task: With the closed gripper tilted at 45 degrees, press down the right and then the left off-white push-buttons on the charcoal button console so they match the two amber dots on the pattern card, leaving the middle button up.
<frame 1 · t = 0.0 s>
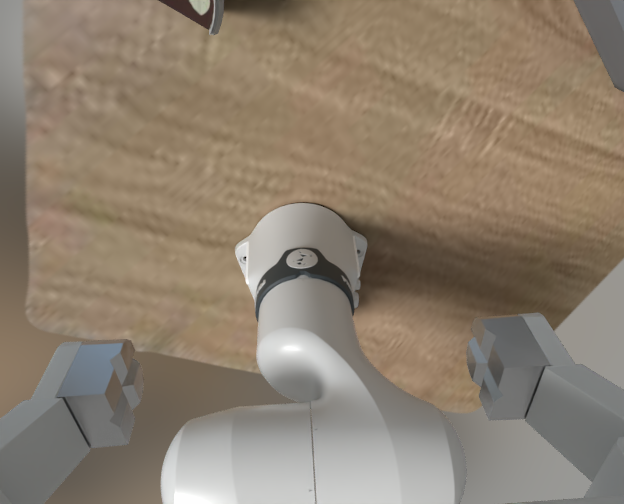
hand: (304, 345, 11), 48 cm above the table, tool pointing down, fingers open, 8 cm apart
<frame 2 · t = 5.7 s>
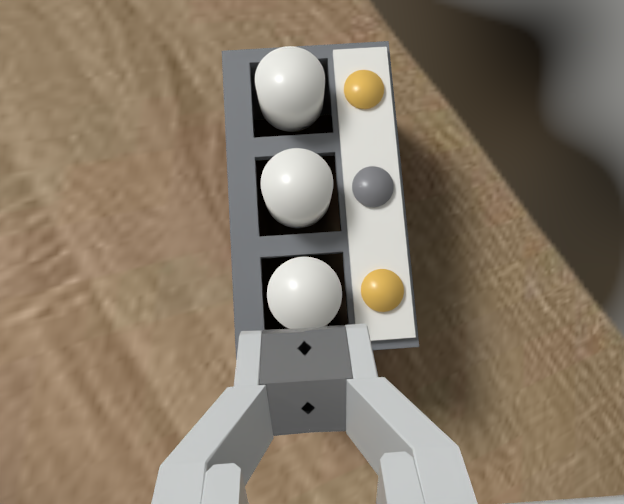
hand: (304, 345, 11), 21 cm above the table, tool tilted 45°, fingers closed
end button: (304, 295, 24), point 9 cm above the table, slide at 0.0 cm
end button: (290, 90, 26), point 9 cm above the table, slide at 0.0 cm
pattern card: (372, 187, 25), on the button console, point 8 cm above the table
button console: (313, 222, 34), on the table
middle button: (297, 189, 25), point 9 cm above the table, slide at 0.0 cm
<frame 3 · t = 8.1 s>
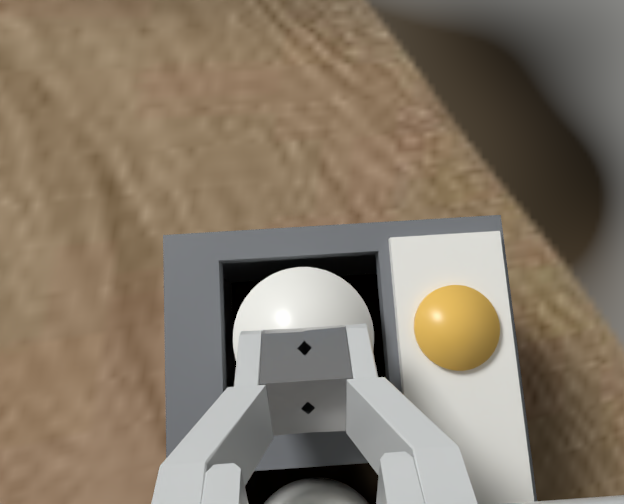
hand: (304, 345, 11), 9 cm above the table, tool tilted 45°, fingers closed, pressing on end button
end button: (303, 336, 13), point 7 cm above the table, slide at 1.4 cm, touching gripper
button console: (336, 465, 20), on the table
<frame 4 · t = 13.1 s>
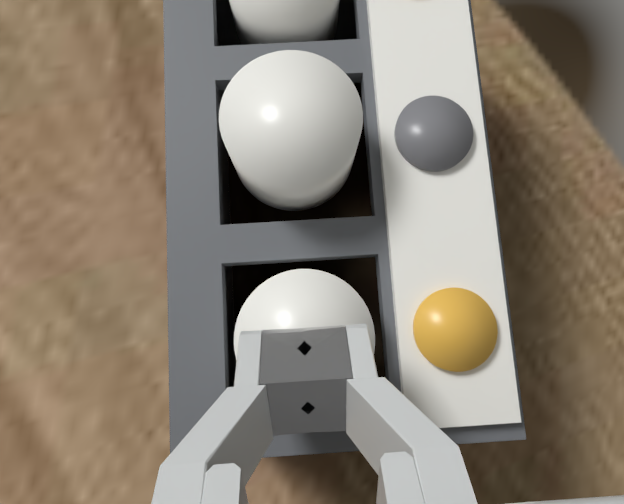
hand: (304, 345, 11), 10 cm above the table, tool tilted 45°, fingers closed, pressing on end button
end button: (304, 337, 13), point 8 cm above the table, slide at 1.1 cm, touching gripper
pattern card: (432, 135, 14), on the button console, point 8 cm above the table
button console: (320, 211, 22), on the table
middle button: (292, 136, 13), point 9 cm above the table, slide at 0.0 cm
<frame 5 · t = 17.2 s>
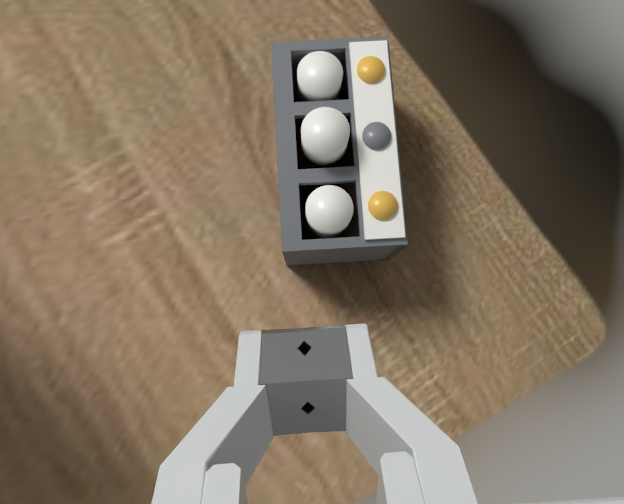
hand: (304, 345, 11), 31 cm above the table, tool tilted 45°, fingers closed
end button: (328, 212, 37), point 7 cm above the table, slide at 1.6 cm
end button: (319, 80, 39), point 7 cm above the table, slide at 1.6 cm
pattern card: (376, 136, 37), on the button console, point 8 cm above the table
button console: (331, 173, 45), on the table
middle button: (324, 136, 36), point 9 cm above the table, slide at 0.0 cm
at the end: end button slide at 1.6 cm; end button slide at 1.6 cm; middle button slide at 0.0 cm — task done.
